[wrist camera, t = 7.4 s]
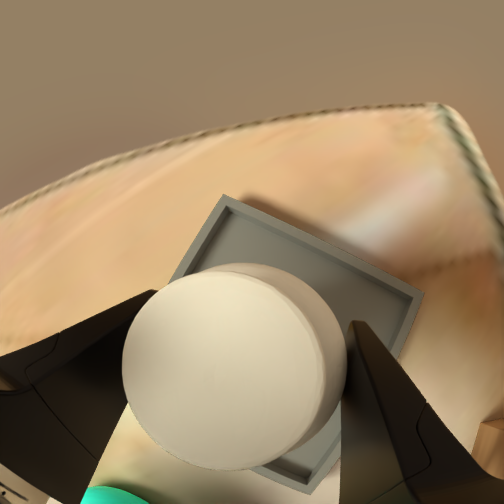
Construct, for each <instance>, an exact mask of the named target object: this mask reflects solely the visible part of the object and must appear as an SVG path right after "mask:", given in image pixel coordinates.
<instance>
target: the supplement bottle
mask: <svg viewBox="0 0 504 504" xmlns="http://www.w3.org/2000/svg"><path fill="white" fill-rule="evenodd" d="M346 376H347V351H346V345H345V341H344V337H343V334H342V331H341V328H340V326H339V323H338V321H337V319H336V317H335V315H334V314H333V312H332V310H331V309H330V308H329V306H328V305H327V303H326V302H325V301H324V300H323V299H322V298H321V297H320V295H319V294H318V293H317V292H316V291H315V290H314V289H312V288H311V287H310V286H309V285H307V284H306V283H305V282H303V281H302V280H300V279H299V278H297V277H296V276H294V275H292V274H290V273H288V272H285V271H283V270H280V269H278V268H274V267H271V266H268V265H263V264H256V263H230V264H224V265H219V266H215V267H212V268H209V269H206V270H204V271H201V272H199V273H195V274H191V275H188V276H185V277H182V278H180V279H177V280H175V281H173V282H172V283H170V284H168V285H166V286H165V287H164V288H162V289H161V290H159V291H158V292H157V293H156V294H154V295H153V296H152V297H151V298H150V299H149V300H148V301H147V303H146V304H145V305H144V306H143V307H142V308H141V310H140V311H139V313H138V314H137V315H136V317H135V319H134V321H133V323H132V324H131V327H130V329H129V331H128V334H127V337H126V340H125V344H124V349H123V357H122V377H123V385H124V390H125V393H126V397H127V400H128V402H129V405H130V407H131V410H132V412H133V413H134V415H135V417H136V419H137V421H138V422H139V424H140V425H141V427H142V428H143V429H144V430H145V431H146V433H147V434H148V435H149V436H150V438H151V439H153V440H154V441H155V442H156V443H157V444H158V445H159V446H160V447H161V448H163V449H164V450H166V451H167V452H168V453H170V454H171V455H173V456H175V457H177V458H178V459H180V460H183V461H185V462H187V463H189V464H192V465H195V466H198V467H202V468H206V469H210V470H221V471H236V470H245V469H250V468H254V467H258V466H261V465H263V464H266V463H269V462H271V461H273V460H275V459H277V458H279V457H280V456H282V455H284V454H287V453H289V452H291V451H293V450H295V449H297V448H299V447H300V446H302V445H303V444H305V443H306V442H307V441H309V440H310V439H311V438H313V437H314V436H315V435H316V434H317V433H318V432H319V431H320V430H321V429H322V428H323V427H324V426H325V424H326V423H327V422H328V421H329V419H330V418H331V416H332V415H333V413H334V411H335V409H336V408H337V406H338V403H339V401H340V399H341V396H342V393H343V390H344V387H345V382H346Z"/></svg>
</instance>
